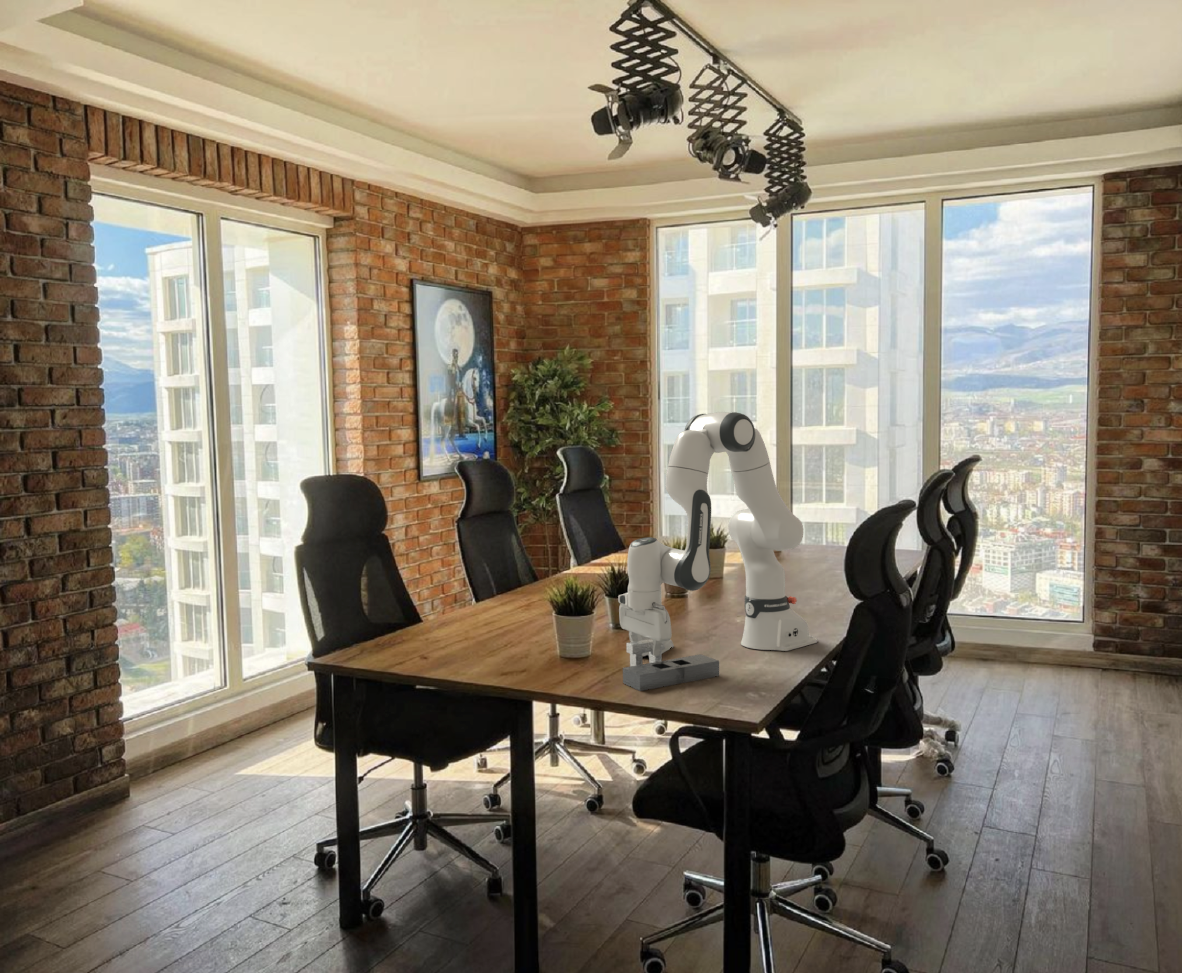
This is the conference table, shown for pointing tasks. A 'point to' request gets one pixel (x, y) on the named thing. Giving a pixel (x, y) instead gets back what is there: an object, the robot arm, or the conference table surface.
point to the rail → (670, 672)
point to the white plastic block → (667, 643)
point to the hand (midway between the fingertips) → (645, 651)
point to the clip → (642, 651)
